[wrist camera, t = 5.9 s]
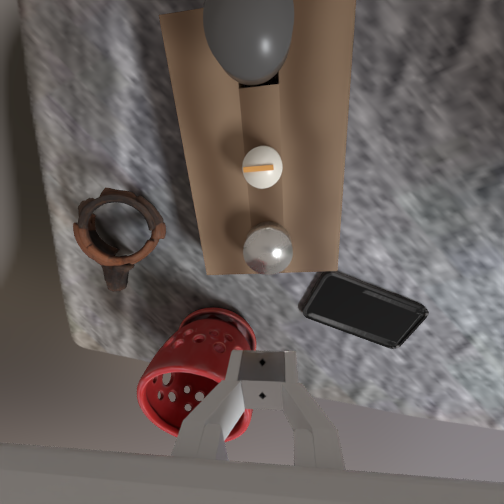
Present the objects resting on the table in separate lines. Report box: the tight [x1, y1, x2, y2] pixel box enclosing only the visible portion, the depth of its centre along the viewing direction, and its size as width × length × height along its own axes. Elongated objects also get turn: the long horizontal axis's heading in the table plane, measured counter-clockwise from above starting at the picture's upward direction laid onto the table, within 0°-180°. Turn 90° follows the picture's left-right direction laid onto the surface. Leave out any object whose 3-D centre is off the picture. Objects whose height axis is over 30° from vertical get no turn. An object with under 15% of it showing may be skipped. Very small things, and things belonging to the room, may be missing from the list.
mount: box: [159, 0, 356, 275], centre depth 24 cm, size 14×22×5 cm, turn 5°
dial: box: [242, 146, 282, 189], centre depth 20 cm, size 3×3×3 cm
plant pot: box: [137, 308, 256, 442], centre depth 31 cm, size 13×13×12 cm
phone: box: [302, 271, 429, 349], centre depth 33 cm, size 8×1×15 cm
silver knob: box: [243, 222, 293, 275], centre depth 25 cm, size 5×5×7 cm
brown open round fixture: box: [73, 188, 166, 291], centre depth 29 cm, size 12×10×8 cm
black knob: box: [203, 0, 294, 85], centre depth 15 cm, size 5×5×7 cm
